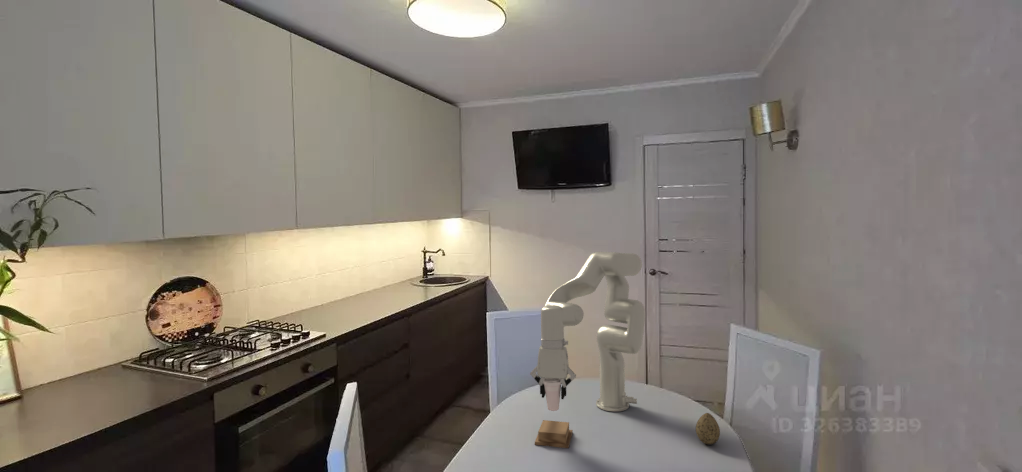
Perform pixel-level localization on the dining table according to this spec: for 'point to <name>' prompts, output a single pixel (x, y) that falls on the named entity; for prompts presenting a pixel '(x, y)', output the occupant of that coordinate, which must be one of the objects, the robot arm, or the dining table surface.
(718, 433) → the decorative egg
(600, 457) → the dining table surface
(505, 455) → the dining table surface
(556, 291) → the robot arm
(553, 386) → the smoothie
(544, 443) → the pedestal
